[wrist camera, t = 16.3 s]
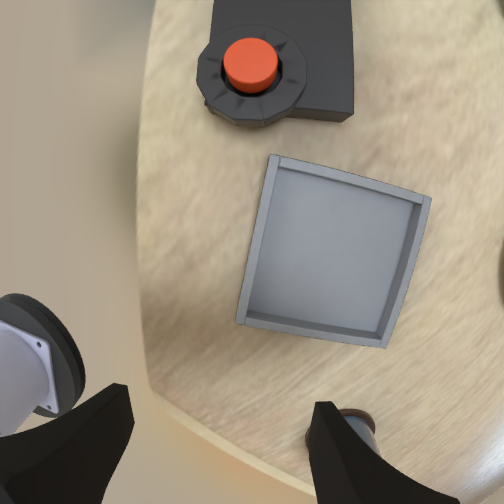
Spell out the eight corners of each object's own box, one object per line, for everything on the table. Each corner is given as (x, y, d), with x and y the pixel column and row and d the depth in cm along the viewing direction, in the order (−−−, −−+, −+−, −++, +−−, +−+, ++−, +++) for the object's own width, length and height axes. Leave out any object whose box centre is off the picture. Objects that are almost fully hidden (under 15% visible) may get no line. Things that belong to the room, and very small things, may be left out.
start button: (275, 94, 14) (276, 84, 13) (225, 93, 14) (221, 83, 13) (277, 51, 14) (278, 38, 12) (228, 50, 14) (224, 36, 12)
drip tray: (236, 312, 21) (234, 323, 20) (269, 155, 19) (270, 153, 17) (378, 337, 21) (386, 348, 20) (420, 195, 19) (432, 197, 17)
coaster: (296, 454, 24) (297, 457, 24) (318, 405, 23) (318, 408, 22) (358, 457, 24) (359, 459, 24) (385, 410, 23) (386, 413, 22)
